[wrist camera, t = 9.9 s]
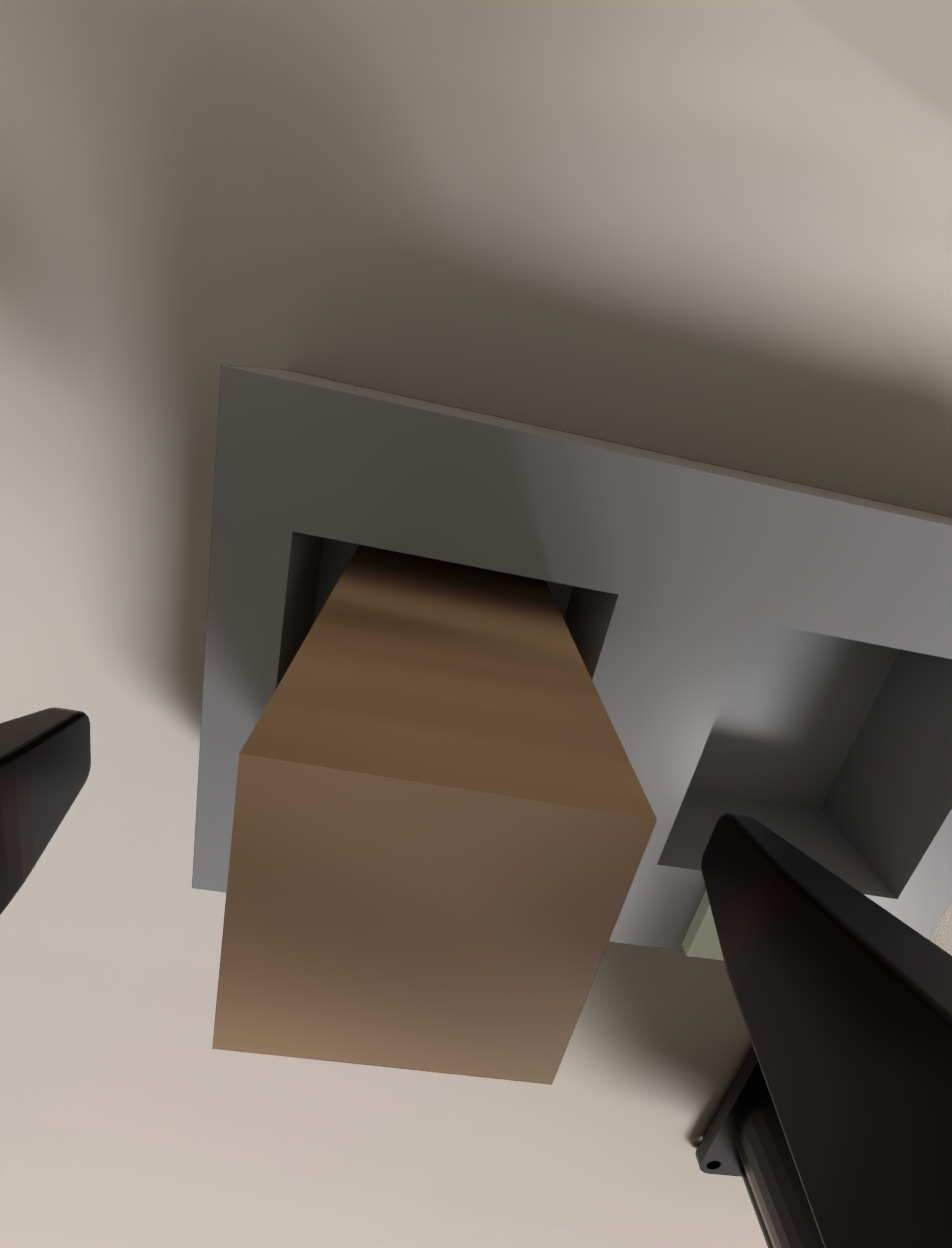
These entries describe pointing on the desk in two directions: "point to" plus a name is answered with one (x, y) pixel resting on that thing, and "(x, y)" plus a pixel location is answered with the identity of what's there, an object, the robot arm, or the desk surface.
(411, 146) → the desk surface
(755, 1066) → the robot arm
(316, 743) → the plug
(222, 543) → the socket strip
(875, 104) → the desk surface
